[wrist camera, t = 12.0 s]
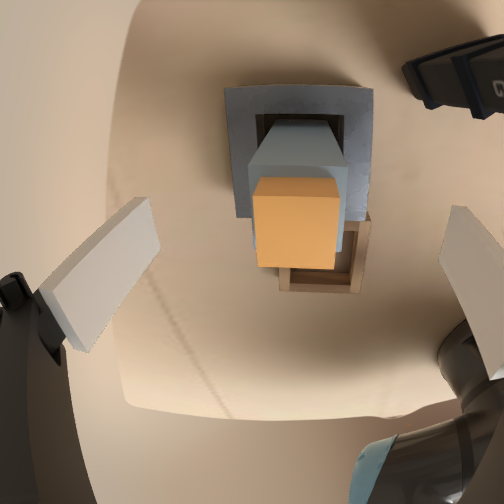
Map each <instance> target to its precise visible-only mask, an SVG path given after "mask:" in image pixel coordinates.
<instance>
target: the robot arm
mask: <svg viewBox="0 0 504 504" xmlns="http://www.w3.org/2000/svg"><path fill="white" fill-rule="evenodd" d="M160 250H161V247H160V243H159V239H158V235H157V231H156V227H155V223H154V218H153V214H152V210H151V205H150V201H149V197H135V198H133V199H132V200H131V201H130V202H129V203H127V204H126V205H125V206H124V207H123V208H121V209H120V210H119V211H118V212H117V213H116V214H114V215H113V216H112V217H111V218H110V219H109V220H108V221H106V222H105V223H104V224H103V225H102V226H101V227H100V228H99V229H97V230H96V232H94V233H93V234H92V235H91V236H90V237H89V238H88V239H87V240H86V241H84V242H83V243H82V244H81V245H80V246H79V247H78V248H77V249H76V250H75V251H74V252H73V253H72V254H71V255H70V256H69V257H68V258H67V259H66V260H65V261H64V262H63V263H62V264H61V265H60V266H59V267H58V268H57V269H56V270H55V271H54V272H53V273H52V274H51V275H50V276H49V277H48V278H47V279H46V280H45V281H44V282H43V283H42V284H41V285H40V287H39V288H38V289H37V290H36V291H35V292H34V293H33V294H32V292H31V290H30V288H29V286H28V284H27V282H26V280H25V278H24V276H23V274H22V273H21V272H14V273H10V274H8V275H7V276H5V277H3V278H2V279H1V280H0V303H1V304H2V306H3V307H0V504H97V502H96V499H95V496H94V493H93V490H92V487H91V484H90V481H89V477H88V474H87V470H86V467H85V463H84V459H83V456H82V452H81V447H80V443H79V439H78V434H77V429H76V424H75V419H74V413H73V408H72V401H71V394H70V387H69V379H68V370H67V360H66V350H65V347H64V346H63V344H62V342H63V340H64V339H65V338H67V339H68V341H69V342H70V344H71V346H72V347H73V348H74V349H76V350H79V351H83V352H86V353H89V351H90V350H91V348H92V347H93V345H94V344H95V342H96V341H97V339H98V338H99V336H100V335H101V333H102V332H103V330H104V329H105V327H106V326H107V324H108V323H109V321H110V320H111V318H112V317H113V315H114V314H115V312H116V311H117V309H118V308H119V306H120V305H121V304H122V302H123V301H124V299H125V298H126V296H127V295H128V294H129V292H130V291H131V289H132V288H133V287H134V285H135V284H136V282H137V281H138V280H139V278H140V277H141V276H142V274H143V273H144V271H145V270H146V269H147V267H148V266H149V265H150V263H151V262H152V261H153V259H154V258H155V257H156V255H157V254H158V253H159V251H160ZM438 261H439V263H440V265H441V267H442V268H443V270H444V272H445V274H446V276H447V278H448V280H449V282H450V284H451V286H452V288H453V290H454V292H455V294H456V296H457V299H458V301H459V303H460V305H461V307H462V309H463V312H464V314H465V316H466V318H467V319H466V320H465V321H464V322H463V323H461V324H460V325H459V326H458V327H457V328H456V329H454V330H453V331H452V332H451V334H450V335H449V336H448V337H447V338H446V340H445V341H444V342H443V344H442V346H441V348H440V350H439V353H438V364H439V367H440V371H441V374H442V376H443V378H444V379H445V380H446V381H447V382H448V384H449V386H450V387H451V389H452V391H453V392H454V394H455V395H456V397H457V398H458V399H459V401H460V404H461V408H462V413H463V415H462V416H459V417H457V418H454V419H451V420H448V421H445V422H442V423H439V424H436V425H433V426H430V427H427V428H423V429H420V430H416V431H413V432H409V433H405V434H402V435H398V434H397V435H394V436H393V437H391V438H387V439H384V440H380V441H376V442H373V443H370V444H369V445H367V446H366V447H365V448H364V449H363V450H362V452H361V453H360V455H359V457H358V459H357V462H356V464H355V467H354V471H353V475H352V480H351V485H350V492H349V503H348V504H456V502H457V504H504V249H503V248H502V247H501V246H500V244H499V243H498V242H497V241H496V240H495V238H494V237H493V236H492V235H491V234H490V233H489V231H488V230H487V229H486V228H485V227H484V226H483V225H482V223H481V222H480V221H479V220H478V219H477V218H476V217H475V216H474V215H473V214H472V212H471V211H470V210H469V209H468V208H467V207H463V206H454V205H452V208H451V213H450V217H449V222H448V226H447V230H446V234H445V238H444V241H443V245H442V249H441V252H440V256H439V259H438Z"/></svg>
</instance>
